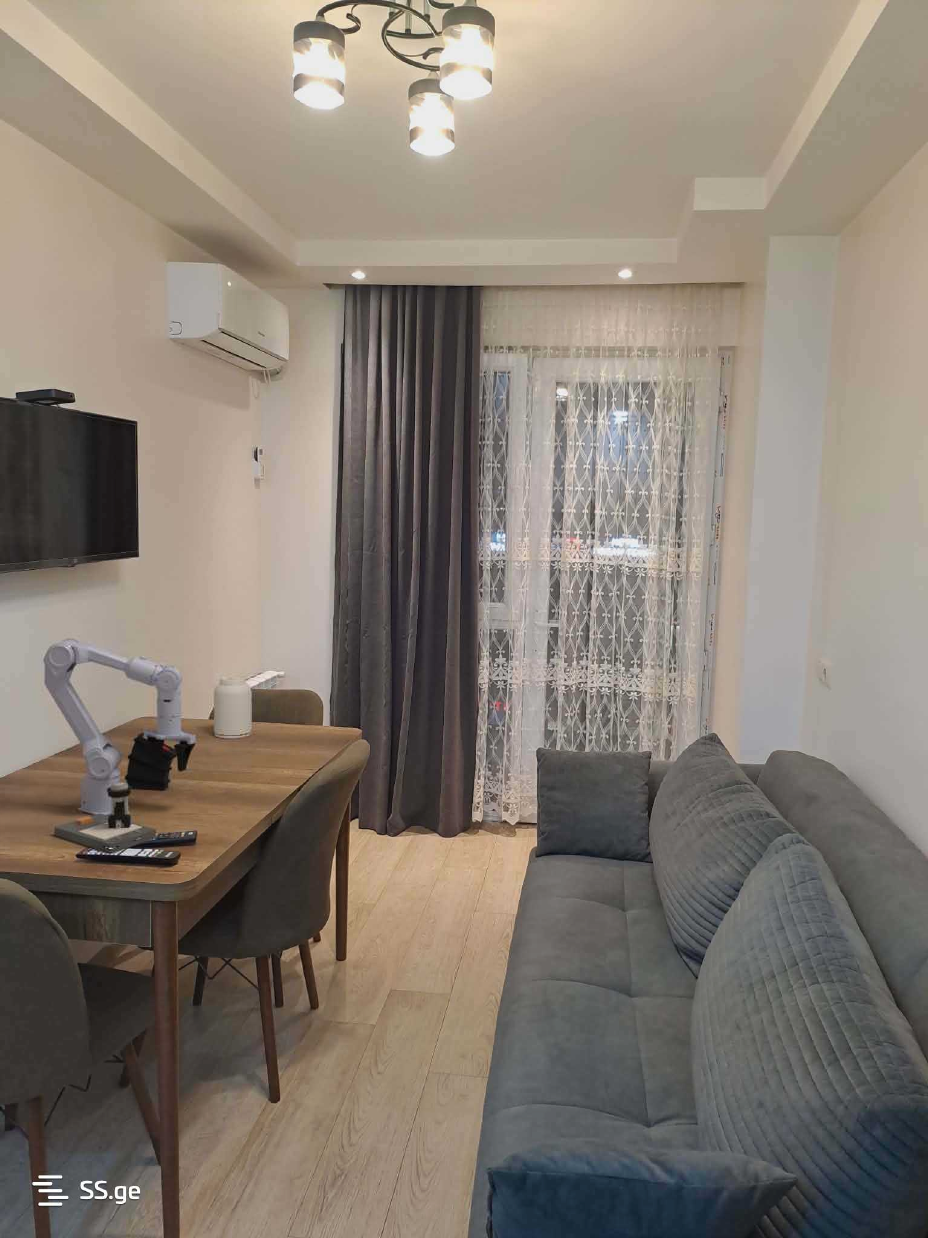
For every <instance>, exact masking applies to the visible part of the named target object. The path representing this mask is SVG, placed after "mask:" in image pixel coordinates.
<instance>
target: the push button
mask: <svg viewBox="0 0 928 1238" xmlns="http://www.w3.org/2000/svg"><path fill="white" fill-rule="evenodd" d="M132 790H133V789H132V787H131V786H128V783H127V781H126V782H125V781H120V782H116V783H113V784H111V787H109V788H107V792H108V796H109V797H111V812H110V814H109V815H108V816H109V818H108V820H102V821H101V822H108V824H102V825H101V826H109V828H129V827H130V825H131V822H132V814H131V813H130V811H129V808H128V807H129V804H128V803H129V796H130V795H131V794H132ZM115 799H116V801H115Z"/></svg>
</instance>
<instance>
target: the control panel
mask: <svg viewBox="0 0 928 1238" xmlns="http://www.w3.org/2000/svg"><path fill="white" fill-rule="evenodd" d="M109 816H110V815H104V814H100V813H99V814H96V815H94V814H92V815H89V816H88V815H87V816H83V817H80V818H77V819H75V820H74V821H70V822H67V823H64V824H63V823H62V824H59V825H56V826H54V827H53V828H54V836H55V837H58V838H61V839H65V840H68V841H71V842H74V843H76V844H80V845H82V846H86V847H89V848H93V849H95V850H97V851H101V852H104V853H108V854H114V853H117V852H119V851H122V850H126V849H129V848H132V847H134V846H136V845H140V844H143V843H145V842H148V841H151V840H153V839H156V838H157V830H156V828H152V827H149V826H145V825H141V824H138V823H136V822H135V823H134V822H132V821H131V825H130V827H129V828H109V826H101V825H102V824H108V822H101V821H102V820H108V818H109ZM138 838H142V839H139V840H136V839H138ZM134 840H136V841H134ZM132 841H133V842H132ZM96 844H101V845H103V846H107V847H116V846H119V847H116V848H113V849H109V848H106V847H103V846H99V845H96Z"/></svg>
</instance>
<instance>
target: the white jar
mask: <svg viewBox="0 0 928 1238" xmlns="http://www.w3.org/2000/svg"><path fill="white" fill-rule="evenodd" d="M252 697H253V693H252V689H251V686H250V685H249V684H248V683H247V680H246V678H245V677H244V676H237V675H236V676H235V675H233V676H231V675H229V676H223V677H221V678H220V679H219V684H217V685H216V686H215V688H214V691H213V733H214V732H215V733H217V734H224V735H240V734H245V733H249V732H250V731H251V730H252V731H253V728H252V725H253V724H252V723H253V722H252V721H253V720H252V718H253V714H252V713H253V709H252V708H253V707H252V706H253V705H252V704H253V702H252V699H253V698H252ZM251 735H252V732H251V733H250V734H247V735H242V736H219V735H216V734H214V736H215V737H217V738H220V739H226V740H227V739H228V740H229V739H230V740H231V739H232V740H233V739H234V740H235V739H242V738H247V737H249V736H251Z"/></svg>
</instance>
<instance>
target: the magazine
mask: <svg viewBox="0 0 928 1238" xmlns="http://www.w3.org/2000/svg"><path fill="white" fill-rule="evenodd" d="M147 739H148V738H144V732H141V733H139V734H137V736H136V737H135V738H134V739H133V742H134V744H133V746H132V748H131V752H130V753H129V754H128V755H127V759H128V760H129V761H128V765H127V771H126V772H127V773H126V774H125V775H124V780H125V781H126V783H128V786H131V787H132V790H148V791H150V790H151V791H165V790H167V789H168V788H169V784H170V783H171V781H172V779H170V777H169V776H170V771H172V769H173V767H171V765H172V763H173V761H174V759H175V758H177V754H176V751H175V748H173V747H172V746H169V745H168V744H165V743H164V745H163V750H162V765H161V766H160V767H157V768H154V766H153V762H152V759H151V756H150V753H149V751H148V749H147V748H146V746H145V745H144V741H146V740H147Z"/></svg>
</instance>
